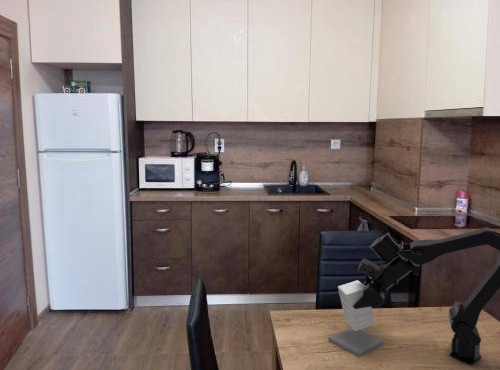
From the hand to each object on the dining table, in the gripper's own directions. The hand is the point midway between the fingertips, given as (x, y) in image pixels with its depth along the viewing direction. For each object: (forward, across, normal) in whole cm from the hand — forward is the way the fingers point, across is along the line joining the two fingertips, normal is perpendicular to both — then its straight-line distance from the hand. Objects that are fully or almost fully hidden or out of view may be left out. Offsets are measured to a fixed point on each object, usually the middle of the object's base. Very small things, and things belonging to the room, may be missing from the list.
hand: (355, 301), depth 130 cm
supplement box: (+4, 0, +6) cm, 8 cm away
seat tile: (+8, +2, +9) cm, 13 cm away
